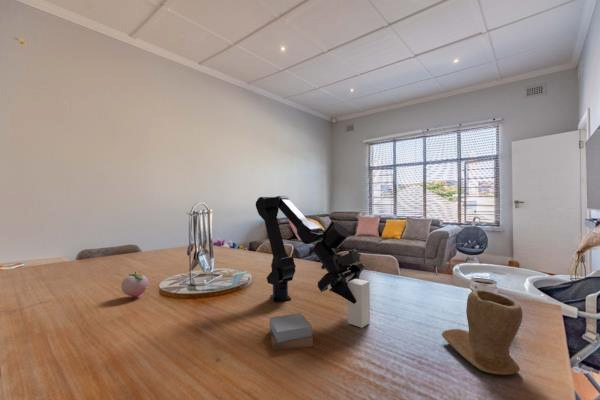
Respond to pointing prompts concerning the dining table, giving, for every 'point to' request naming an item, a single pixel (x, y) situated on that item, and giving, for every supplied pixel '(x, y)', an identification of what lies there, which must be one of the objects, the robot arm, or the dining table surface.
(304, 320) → the tower top slab
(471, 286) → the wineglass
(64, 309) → the dining table surface
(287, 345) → the tower base slab
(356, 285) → the pillar
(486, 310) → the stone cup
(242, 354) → the dining table surface
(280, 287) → the robot arm
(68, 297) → the dining table surface
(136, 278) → the decorative fruit
